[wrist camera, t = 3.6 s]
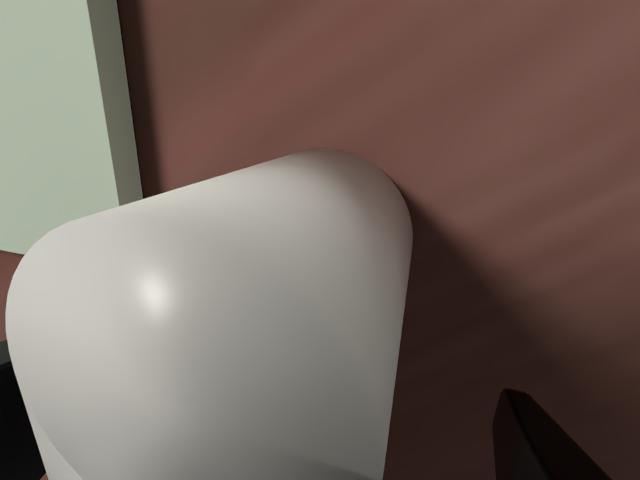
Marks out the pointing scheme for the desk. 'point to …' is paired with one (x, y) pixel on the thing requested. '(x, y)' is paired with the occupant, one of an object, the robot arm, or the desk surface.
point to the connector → (219, 328)
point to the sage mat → (62, 117)
